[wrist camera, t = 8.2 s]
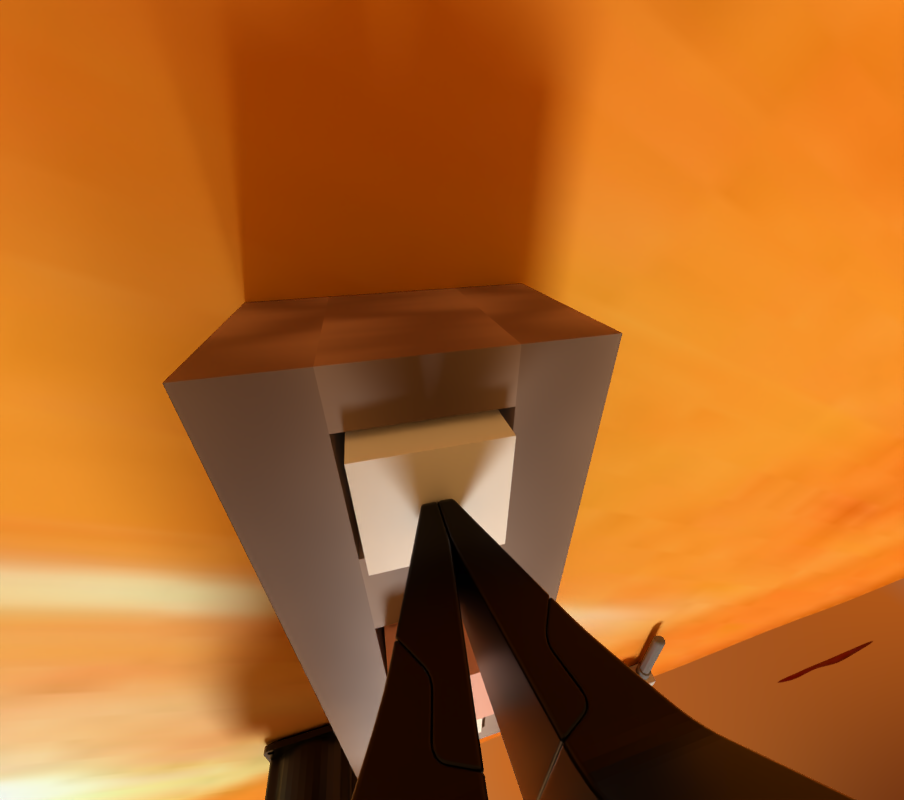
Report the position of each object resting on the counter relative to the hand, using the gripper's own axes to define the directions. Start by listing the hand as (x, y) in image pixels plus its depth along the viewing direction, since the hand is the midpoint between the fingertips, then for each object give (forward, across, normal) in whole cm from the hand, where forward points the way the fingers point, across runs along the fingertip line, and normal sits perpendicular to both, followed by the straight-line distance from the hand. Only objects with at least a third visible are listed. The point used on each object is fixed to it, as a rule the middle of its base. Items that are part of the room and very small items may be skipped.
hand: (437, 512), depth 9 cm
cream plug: (+6, 0, 0) cm, 6 cm away
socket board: (+7, 0, +8) cm, 11 cm away
